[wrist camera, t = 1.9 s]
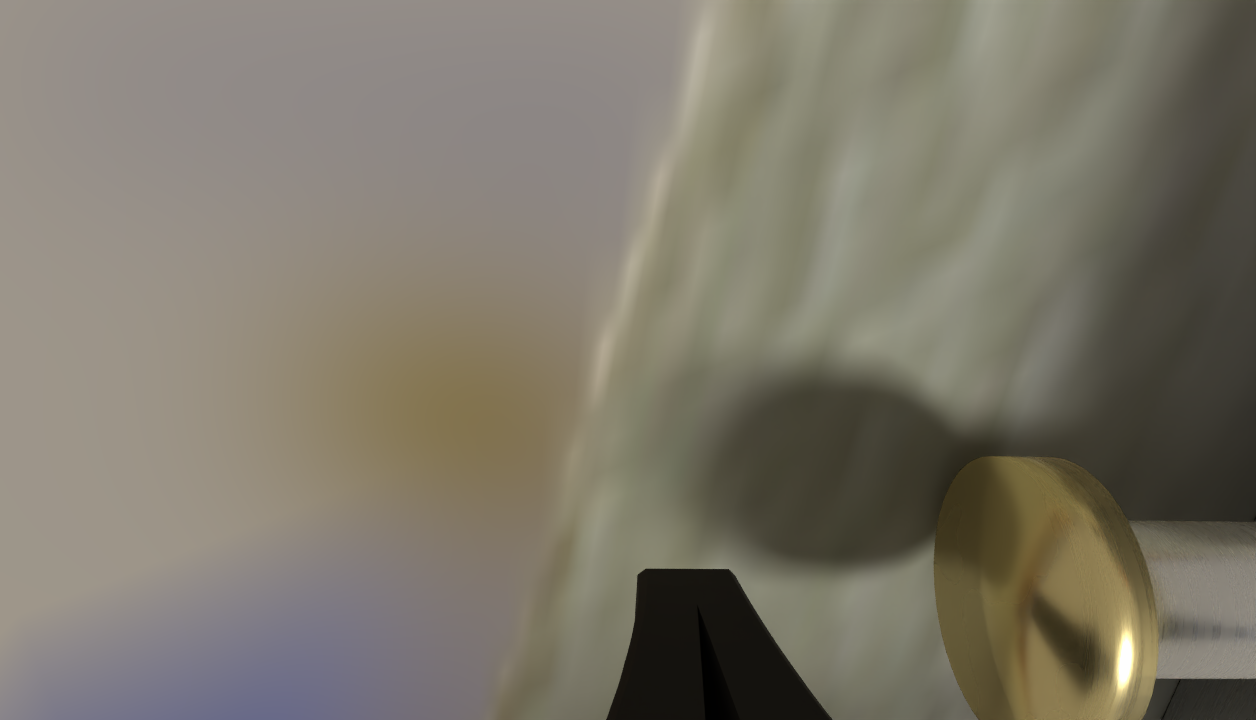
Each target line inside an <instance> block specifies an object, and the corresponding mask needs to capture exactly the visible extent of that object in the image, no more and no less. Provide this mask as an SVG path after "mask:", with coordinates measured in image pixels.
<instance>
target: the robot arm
mask: <svg viewBox="0 0 1256 720" xmlns="http://www.w3.org/2000/svg"><path fill="white" fill-rule="evenodd" d="M606 720H832V719H831V717H830V716H829V715H828V714H827V712H826V711H825V710H824V708H823V707H822V706H821V704H820V703H819V702H818V701H817V699H816V698H815V697H814V695H813V694H812V693H811V691H810V690H809V689H808V687H807V686H806V684H805V683H804V682H803V680H802V679H801V677H800V676H799V675H798V673H797V672H796V671H795V669H794V668H793V666H792V665H791V664H790V662H789V661H788V659H787V658H786V657H785V655H784V654H783V652H782V651H781V649H780V648H779V646H778V645H777V643H776V642H775V640H774V639H773V637H772V636H771V634H770V633H769V631H768V630H767V628H766V627H765V625H764V623H763V622H762V620H761V619H760V617H759V616H758V614H757V612H756V611H755V609H754V608H753V606H752V604H751V603H750V601H749V599H748V598H747V596H746V594H745V592H744V591H743V589H742V587H741V585H740V584H739V582H738V580H737V578H736V576H735V575H734V574H733V573H732V572H731V571H730V570H729V569H645V570H643V571H642V572H641V573H640V574H638V576H637V594H636V611H635V623H634V628H633V633H632V638H631V642H630V646H629V649H628V653H627V657H626V660H625V664H624V668H623V671H622V675H621V679H620V682H619V685H618V688H617V691H616V694H615V697H614V700H613V702H612V705H611V708H610V711H609V714H608V717H607V719H606Z"/></svg>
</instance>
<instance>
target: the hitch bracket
mask: <svg viewBox="0 0 1256 720" xmlns="http://www.w3.org/2000/svg"><path fill="white" fill-rule="evenodd" d="M1254 522H1256V519H1255V521H1254ZM1163 720H1256V679H1181V681H1180V683H1179V685H1178V687H1177V689H1176V692H1175V694H1174V696H1173V698H1172V700H1171V702H1170V705H1169V707H1168V709H1167V711H1166V713H1165V715H1164V718H1163Z"/></svg>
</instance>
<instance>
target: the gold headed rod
mask: <svg viewBox="0 0 1256 720" xmlns="http://www.w3.org/2000/svg"><path fill="white" fill-rule="evenodd" d="M934 585H935V596H936V605H937V612H938V618H939V623H940V628H941V633H942V637H943V641H944V645H945V648H946V652H947V655H948V658H949V661H950V664H951V667H952V670H953V672H954V675H955V677H956V680H957V682H958V685H959V687H960V689H961V691H962V693H963V695H964V697H965V699H966V701H967V702H968V704H969V706H970V707H971V709H972V711H973V712H974V714H975V715H976V717H977V718H978V719H979V720H1142V719H1143V717H1144V715H1145V713H1146V711H1147V708H1148V705H1149V702H1150V700H1151V697H1152V693H1153V689H1154V684H1155V680H1156V679H1256V522H1209V521H1128V520H1127V518H1126V517H1125V515H1124V513H1123V511H1122V510H1121V508H1120V506H1119V505H1118V504H1117V502H1116V501H1115V500H1114V498H1113V497H1112V495H1111V494H1110V493H1109V491H1108V490H1107V489H1106V488H1105V487H1104V486H1103V485H1102V484H1101V483H1100V482H1099V481H1098V480H1097V479H1096V478H1095V477H1094V476H1093V475H1091V474H1090V473H1089V472H1088V471H1087V470H1085V469H1083V468H1082V467H1080V466H1078V465H1077V464H1075V463H1073V462H1070V461H1068V460H1065V459H1061V458H1055V457H1015V456H986V457H981V458H978V459H975V460H973V461H971V462H970V463H968V464H967V465H966V466H965V467H964V468H962V469H961V470H960V471H959V473H958V474H957V476H956V477H955V478H954V480H953V481H952V483H951V485H950V487H949V489H948V491H947V493H946V496H945V498H944V501H943V504H942V508H941V511H940V515H939V519H938V524H937V530H936V538H935V549H934Z"/></svg>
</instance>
